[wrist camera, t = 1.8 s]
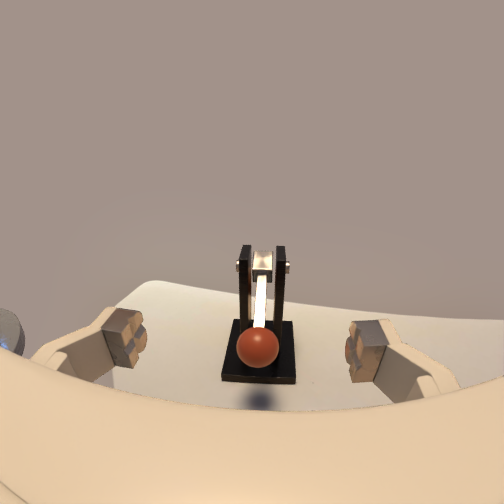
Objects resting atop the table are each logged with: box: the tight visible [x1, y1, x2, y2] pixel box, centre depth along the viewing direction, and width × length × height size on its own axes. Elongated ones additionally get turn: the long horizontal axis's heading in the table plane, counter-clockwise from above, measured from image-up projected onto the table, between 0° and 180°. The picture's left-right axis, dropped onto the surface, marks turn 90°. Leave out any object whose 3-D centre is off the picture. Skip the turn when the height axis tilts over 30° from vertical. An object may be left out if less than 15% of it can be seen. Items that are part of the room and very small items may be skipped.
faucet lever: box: [237, 251, 279, 368], centre depth 29 cm, size 13×4×4 cm, turn 175°
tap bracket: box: [221, 245, 296, 384], centre depth 34 cm, size 12×9×15 cm
